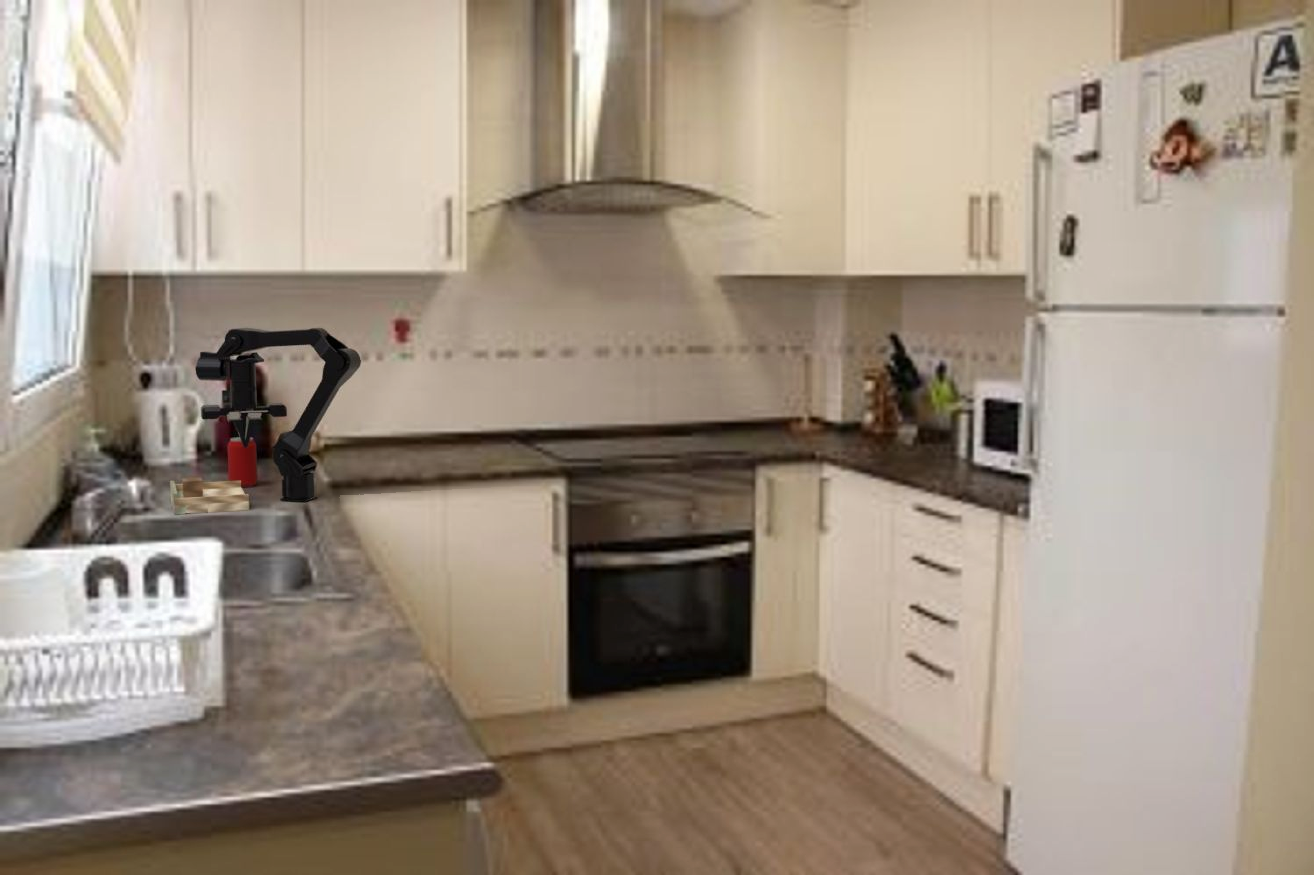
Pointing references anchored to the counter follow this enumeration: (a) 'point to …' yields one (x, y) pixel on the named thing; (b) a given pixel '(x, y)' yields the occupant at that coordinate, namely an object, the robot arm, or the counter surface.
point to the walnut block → (192, 487)
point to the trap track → (210, 498)
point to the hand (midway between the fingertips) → (245, 447)
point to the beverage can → (242, 462)
